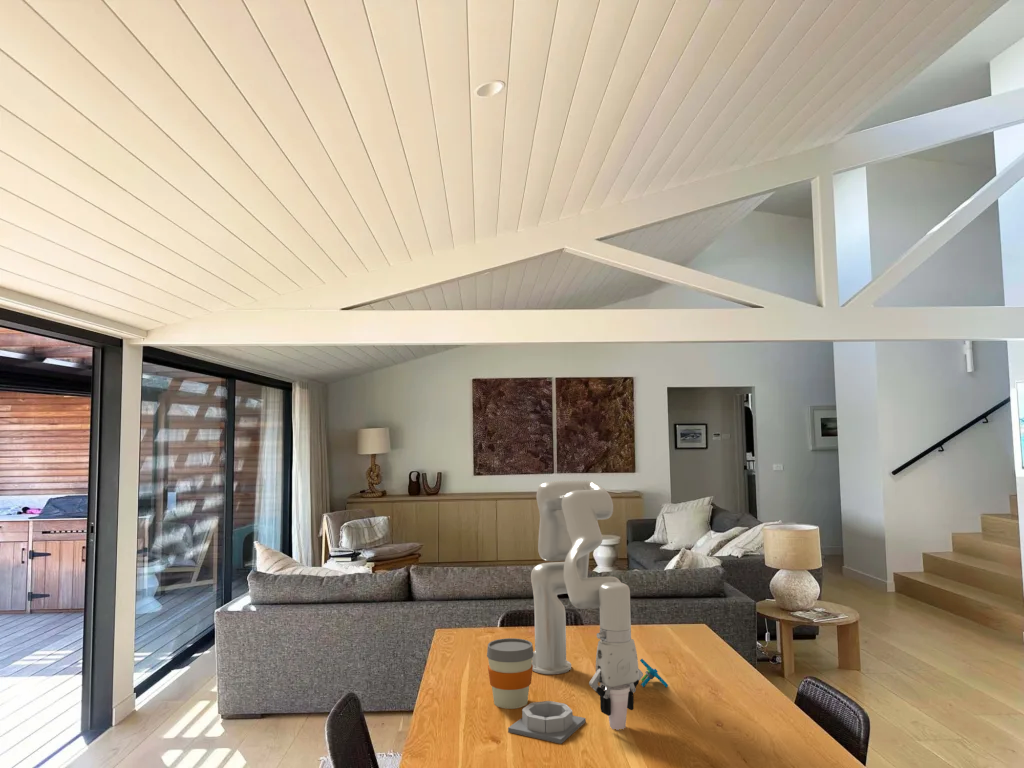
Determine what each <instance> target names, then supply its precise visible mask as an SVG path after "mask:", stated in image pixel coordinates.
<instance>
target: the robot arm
mask: <svg viewBox="0 0 1024 768" xmlns="http://www.w3.org/2000/svg"><path fill="white" fill-rule="evenodd" d="M536 502H537V508H538V511H539V526H538V541H537V551H538V555H539V557H540V558H541V559H542V560H543V561H547V562H543V563H538V564H537V565H536V566H534V567H532V570H531V573H530V581H531V587H532V593H533V605H534V608H533V610H534V611H533V612H534V650H533V654H534V656H533V657H532V665H533V669H532V672H534V673H538V674H542V675H561V674H565V673H568V672H570V671H571V670H572V668H571V667H572V662H570V661H569V660H567V629H566V628H567V627H566V625H567V624H566V622H567V621H566V619H567V618H566V608H565V606H564V604H563V602H562V601H561V600H560V599H559V597H558V595H564V594H567V595H568V598H569V602H570V603H571V605H572V606H573V607H574V608H575V609H580V610H586V609H587V610H588V609H596V608H597V609H598V608H599V632H598V633H597V632H596V638H597V640H598V642H597V647H596V656H595V657H596V658H595V673H594V674H593V676H592V678H591V679H590V680H589V682H588V685H589V686H590V688H592V689H593V690H594V692H596V693H597V694H598V696H599V702H600V703H599V705H600V708H599V709H600V712H601V713H603V714H604V715H606V716H608V717H609V715H611V700H610V698H608V696H609V693H610V689H611V687H617V686H621V685H626V684H628V685H629V686H630V692H629V693H628V704H627V710H629V711H633V710H634V708H635V707H634V703H635V702H634V701H635V700H634V698H635V697H634V696H635V695H634V693H635V692H636V691H637V689H636V688H637V687H638V685H639V683H640V681H641V679H642V678H643V677H644V672H643V671H642V670H641V669H640V668H639V661H638V652H637V647H636V644H635V640H634V639H633V638H632V629H631V628H632V624H631V622H632V621H631V619H632V618H631V590H630V587H629V585H628V584H626V583H623V582H621V580H620V579H619V578H618V577H616V576H611V575H610V576H591V577H588V576H589V575H588V574H589V563H590V553H591V552H593V551H595V550H596V549H598V548H599V547H600V546H601V545H602V544H603V540H604V539H603V538H604V537H603V534H602V532H601V529H600V526H599V522H598V521H599V520H608V519H609V518H611V517H612V515H613V513H614V502H613V499H612V496H611V495H610V493H609V492H608V491H607V490H606V489H605V488H603V487H602V486H601V485H598V484H597V483H596V482H593V481H591V480H556V481H545V482H543V483H540V484H539V486H538V487H537V490H536ZM548 561H549V562H548ZM569 670H570V671H569ZM605 686H606V687H605ZM604 688H605V691H604Z"/></svg>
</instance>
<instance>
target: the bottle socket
mask: <svg viewBox="0 0 1024 768" xmlns="http://www.w3.org/2000/svg"><path fill="white" fill-rule="evenodd" d="M521 711H522V712H521V713H522V715H521V716H522V717H521V718H519V719H518V720H517V721H515V722H514V723H512V724H511V725H510V726H509V727H508V728H507V731H508V733H512V734H515V735H519V736H525V737H529V738H532V739H533V738H534V739H539V740H543V741H548V742H552V743H555V744H560V745H561V744H562V743H564V742H565V741H566V740H567V739H569V738H570V736H572V735H573V734H574V733H576V731H578V729H580V728H581V727H582V726H583V725H584V724H585V723H586V722H587V721H586V717H582V716H578V715H577V716H576V715H573V714H574V713H573V710H572V708H571V707H570V706H568V705H567V704H566V703H562V702H556V701H554V700H553V701H551V700H543V701H535V702H530V703H529V704H526V705H525V706H523V707H522V710H521Z"/></svg>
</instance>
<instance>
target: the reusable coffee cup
mask: <svg viewBox="0 0 1024 768" xmlns="http://www.w3.org/2000/svg"><path fill="white" fill-rule="evenodd" d="M486 651H487V652H486V658H488V665H487V670H488V671H487V672H488V677H489V685H490V686H491V690H492V698H493V705H495V706H496V707H497V708H501V709H509V710H510V709H511V710H513V709H520V708H524V707H526V706H527V705H528V700H529V692H530V691H529V690H530V685H531V684H532V678H533V677H532V676H533V670H532V669H533V665H532V657H533V656H534V654H533V651H534V646H533V643H532V642H531V641H530V640H526V639H523V638H517V637H515V638H514V637H513V638H512V637H511V638H510V637H509V638H500V639H494V640H492V641H489V643H488V644H487V650H486Z"/></svg>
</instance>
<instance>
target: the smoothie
mask: <svg viewBox="0 0 1024 768" xmlns="http://www.w3.org/2000/svg"><path fill="white" fill-rule="evenodd" d="M605 687H606V686H605ZM604 691H605V688H604ZM629 692H630V686H629V685H628V684H626V685H621V686H617V687H611V689H610V693H609V696H608V698H610V700H611V715H609V716H608V722H609V728H610V727H611V728H612V730H614V729H616V730H615V731H620V730H619V729H623V730H625V729H626V725H627V712H628V708H627V704H628V693H629ZM611 728H610V729H611ZM624 728H625V729H624Z"/></svg>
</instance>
